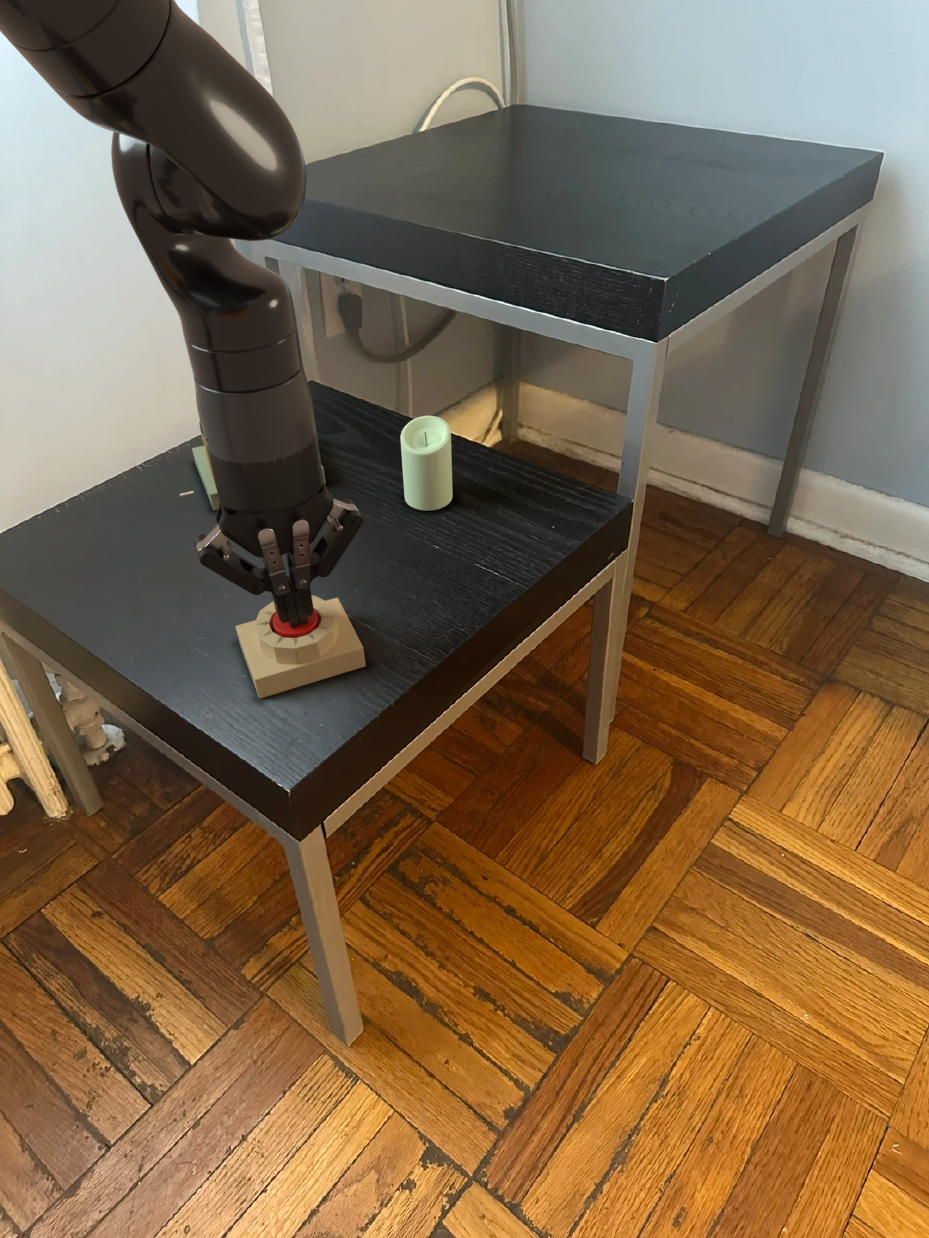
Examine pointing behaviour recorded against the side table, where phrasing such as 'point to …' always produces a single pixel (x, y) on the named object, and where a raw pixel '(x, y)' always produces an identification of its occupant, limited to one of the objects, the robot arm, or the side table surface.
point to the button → (296, 631)
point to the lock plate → (207, 478)
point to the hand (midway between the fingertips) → (296, 618)
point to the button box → (300, 649)
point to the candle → (427, 463)
